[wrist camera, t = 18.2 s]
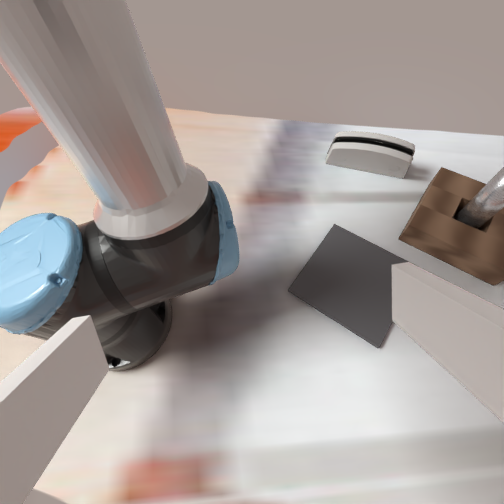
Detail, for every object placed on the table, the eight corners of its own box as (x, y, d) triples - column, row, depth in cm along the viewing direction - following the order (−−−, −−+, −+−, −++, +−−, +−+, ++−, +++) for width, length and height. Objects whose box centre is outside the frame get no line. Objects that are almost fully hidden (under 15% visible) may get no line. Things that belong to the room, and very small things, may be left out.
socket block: (398, 239, 50) (409, 225, 46) (429, 183, 56) (441, 167, 52) (493, 285, 45) (514, 274, 41) (517, 219, 51) (538, 204, 47)
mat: (288, 291, 47) (288, 289, 46) (333, 226, 52) (334, 223, 52) (377, 348, 41) (379, 347, 41) (417, 269, 47) (419, 267, 46)
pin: (443, 232, 50) (504, 172, 37) (450, 217, 52) (511, 154, 39) (466, 242, 49) (537, 184, 36) (473, 227, 50) (544, 165, 37)
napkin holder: (406, 162, 59) (427, 135, 49) (401, 182, 59) (421, 159, 49) (329, 148, 63) (334, 120, 53) (323, 167, 62) (328, 142, 52)
